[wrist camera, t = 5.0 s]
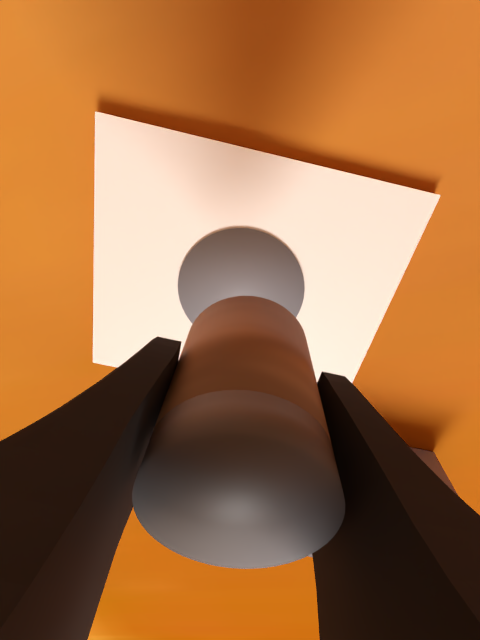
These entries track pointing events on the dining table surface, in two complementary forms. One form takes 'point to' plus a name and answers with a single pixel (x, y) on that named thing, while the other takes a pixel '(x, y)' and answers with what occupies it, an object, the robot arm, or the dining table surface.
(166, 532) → the grey rounded cylinder
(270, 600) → the dining table surface
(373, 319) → the paper sheet
